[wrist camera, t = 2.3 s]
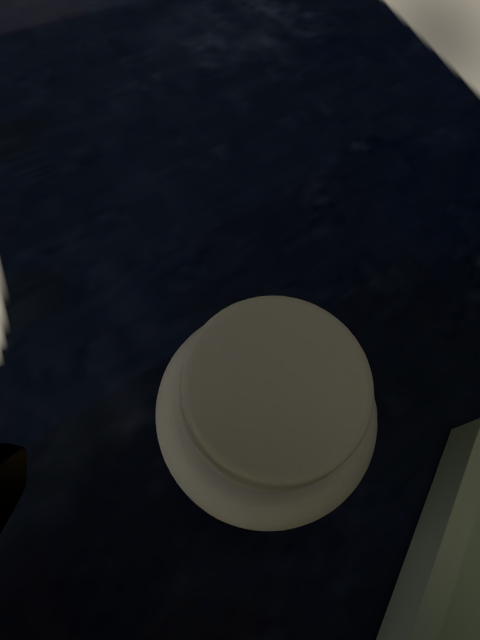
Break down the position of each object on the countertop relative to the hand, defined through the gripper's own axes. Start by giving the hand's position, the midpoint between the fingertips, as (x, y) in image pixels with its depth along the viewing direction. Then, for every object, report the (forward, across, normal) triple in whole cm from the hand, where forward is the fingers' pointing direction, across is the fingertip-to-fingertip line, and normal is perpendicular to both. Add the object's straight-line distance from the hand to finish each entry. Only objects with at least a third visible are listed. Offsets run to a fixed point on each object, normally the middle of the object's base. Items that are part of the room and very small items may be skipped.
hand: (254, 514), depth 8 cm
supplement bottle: (+9, 0, +5) cm, 10 cm away
